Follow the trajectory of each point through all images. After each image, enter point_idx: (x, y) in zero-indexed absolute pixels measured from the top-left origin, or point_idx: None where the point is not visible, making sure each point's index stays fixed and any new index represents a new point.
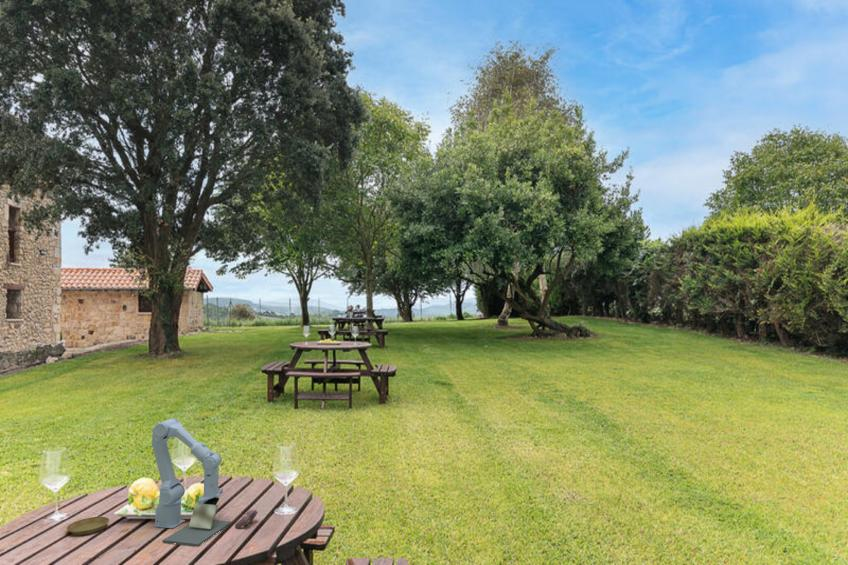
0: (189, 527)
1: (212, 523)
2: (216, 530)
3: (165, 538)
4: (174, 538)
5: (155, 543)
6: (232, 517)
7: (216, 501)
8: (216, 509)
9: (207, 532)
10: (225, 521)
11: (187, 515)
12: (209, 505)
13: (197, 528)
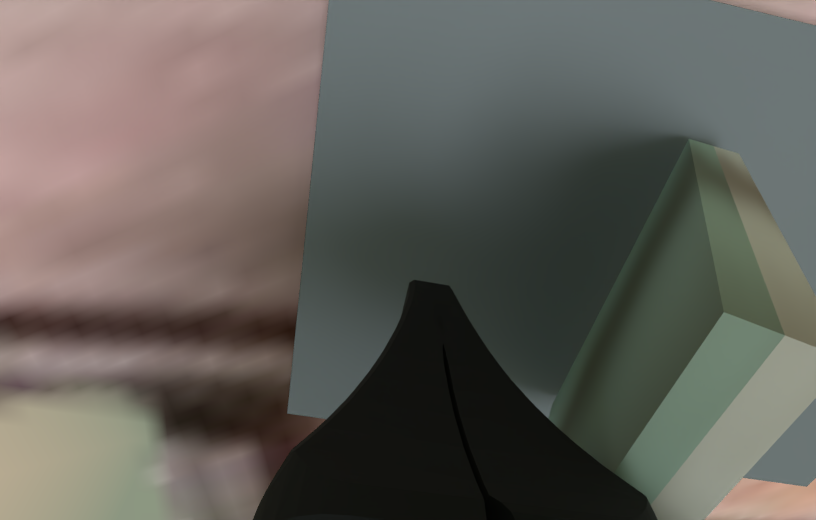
0: (539, 404)
1: (716, 164)
2: (724, 43)
3: (774, 480)
4: (810, 423)
5: (781, 496)
6: (78, 26)
7: (438, 463)
8: (736, 259)
9: (766, 157)
10: (344, 44)
11: (197, 503)
12: (689, 505)
13: (585, 325)
